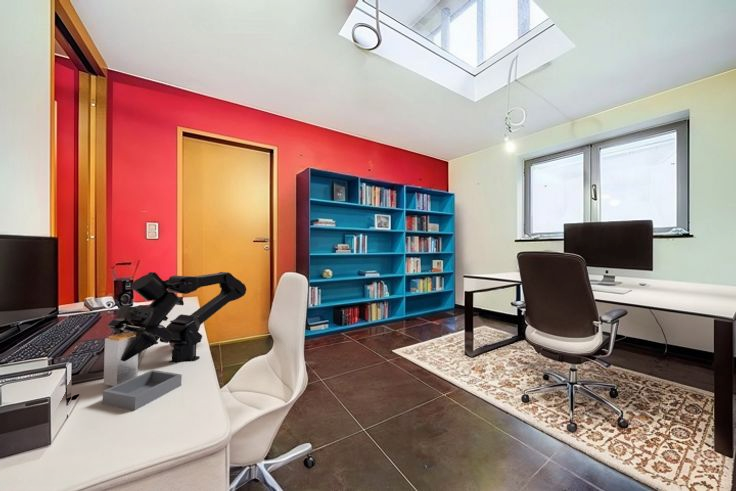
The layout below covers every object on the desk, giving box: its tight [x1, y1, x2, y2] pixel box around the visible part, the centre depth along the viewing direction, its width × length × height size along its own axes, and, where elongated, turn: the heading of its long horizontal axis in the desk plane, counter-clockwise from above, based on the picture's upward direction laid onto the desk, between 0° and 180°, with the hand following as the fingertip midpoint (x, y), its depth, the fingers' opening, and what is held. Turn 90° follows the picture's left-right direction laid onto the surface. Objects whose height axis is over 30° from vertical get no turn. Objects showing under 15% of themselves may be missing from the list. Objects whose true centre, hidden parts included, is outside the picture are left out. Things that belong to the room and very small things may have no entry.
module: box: [103, 332, 139, 387], centre depth 74 cm, size 5×5×13 cm
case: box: [101, 369, 183, 411], centre depth 70 cm, size 12×10×4 cm
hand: (115, 359), depth 73 cm, fingers closed on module, 5 cm apart
